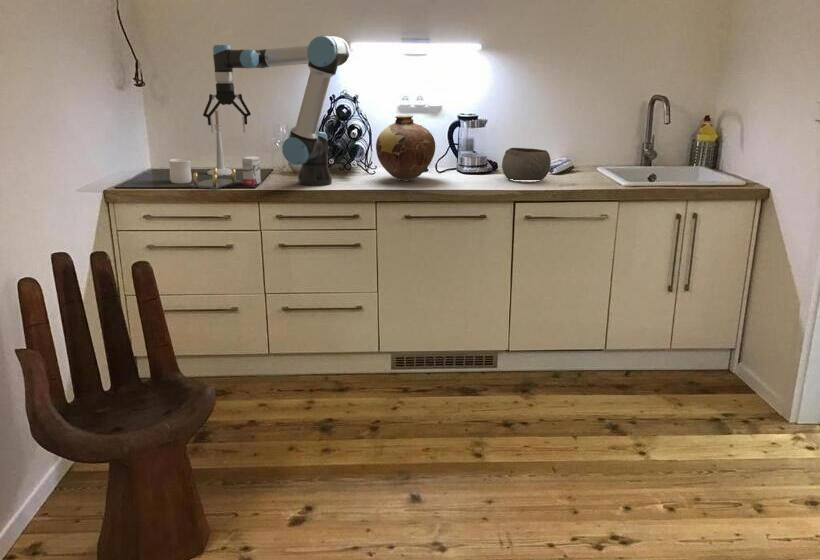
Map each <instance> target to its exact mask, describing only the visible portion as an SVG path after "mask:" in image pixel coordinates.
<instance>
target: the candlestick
mask: <svg viewBox="0 0 820 560" xmlns="http://www.w3.org/2000/svg"><path fill="white" fill-rule="evenodd" d="M220 116H221V115H220V110H218V109H216V110H215V111H214V117H215V124H213V127H215V128H214V129H215V130H216V134H215V135H216V166H215V168H217V177H218V176H219V177H223V175H226V176H232V175H231V174H232V169H231V168H228V167H226V166H225V159H224V152H223V142H222V133H221V130H222V124H221V118H220ZM206 173H207V175H209V176H213V175H212V174H213V168H211V169H210V170H208V171H207V172H206Z"/></svg>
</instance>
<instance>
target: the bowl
mask: <svg viewBox="0 0 820 560" xmlns="http://www.w3.org/2000/svg"><path fill="white" fill-rule="evenodd" d="M551 162H552V160H551V155H550V153H549V152H548V151H547V150H545V149H544V150H543V149H539V148H530V147H529V148H525V147H510V148H508V149H507V150H505V152H504V155H503V157H502V162H501V168H502V172H503V174H504V177H505V178H506V179H507V178H508V179H513V180H541V179H543V180H544V179H545V178H546V177H547V176H548V174H549V172H550V170H551V166H552V165H551V164H552V163H551ZM508 179H507V180H508ZM541 181H542V180H541Z"/></svg>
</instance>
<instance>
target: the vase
mask: <svg viewBox="0 0 820 560" xmlns="http://www.w3.org/2000/svg"><path fill="white" fill-rule="evenodd" d="M413 117H414V115H411V114H398V115H394V118H395V121H394V123H392V124H389V125H388V126H386V127H385V128H384V129H383V130H382V131H380V133H379V135H378V136H377V139H376V142H375V143H376V144H375V151H376V157H377V159H378V162H379V163H380V164H381V166H382V168H383V169H384V170H385V171H386V172H387V173H388V174H389V175H390V176H391V177H394V178H395V179H397V180H399V179H400V180H399V181H402V180H410V181H412V179H413V180H416V179H417V178H418V177H420V176H421V175H422V174H423V173H424V172H425V171H426V169H427V168H428V167H429V166H430V164H431V162H432V161H433V158H434V156H435V153H436V140H435V138H434V136H433V134H432V132H430V130H429V129H427V128H425V127H424V126H422V125H421V124H418V123H415V122H414V119H413Z"/></svg>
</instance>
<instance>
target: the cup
mask: <svg viewBox="0 0 820 560" xmlns="http://www.w3.org/2000/svg"><path fill="white" fill-rule="evenodd" d="M168 162H169V180H170V182H171V183H172V184H188V183H189V184H190V183H191V182H192V179H193V177H192V176H193V175H192V170H191V159H187V158H178V157H177V158H171V159H169V160H168Z"/></svg>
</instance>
